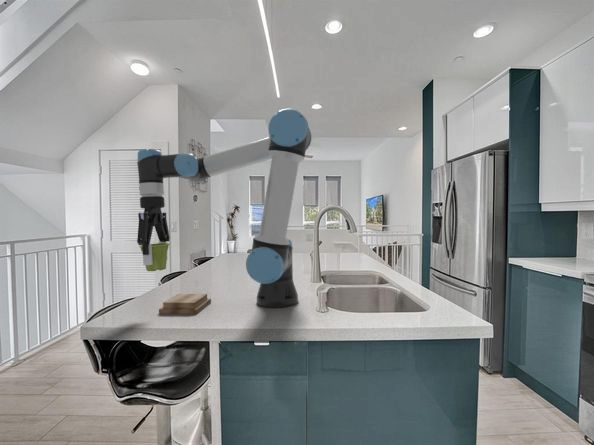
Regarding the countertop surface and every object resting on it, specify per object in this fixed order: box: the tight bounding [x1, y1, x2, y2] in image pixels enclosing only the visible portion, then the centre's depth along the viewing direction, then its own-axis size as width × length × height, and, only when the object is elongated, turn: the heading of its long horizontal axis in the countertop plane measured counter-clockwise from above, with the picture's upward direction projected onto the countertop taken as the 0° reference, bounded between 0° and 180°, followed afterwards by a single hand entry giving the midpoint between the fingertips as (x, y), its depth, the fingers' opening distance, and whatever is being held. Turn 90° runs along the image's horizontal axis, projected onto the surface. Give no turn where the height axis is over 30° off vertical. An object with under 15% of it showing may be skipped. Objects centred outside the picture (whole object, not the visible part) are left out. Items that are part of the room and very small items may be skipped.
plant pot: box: [138, 242, 171, 272], centre depth 107 cm, size 9×9×9 cm
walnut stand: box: [158, 293, 212, 315], centre depth 111 cm, size 13×13×4 cm
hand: (156, 262), depth 107 cm, fingers closed on plant pot, 9 cm apart
